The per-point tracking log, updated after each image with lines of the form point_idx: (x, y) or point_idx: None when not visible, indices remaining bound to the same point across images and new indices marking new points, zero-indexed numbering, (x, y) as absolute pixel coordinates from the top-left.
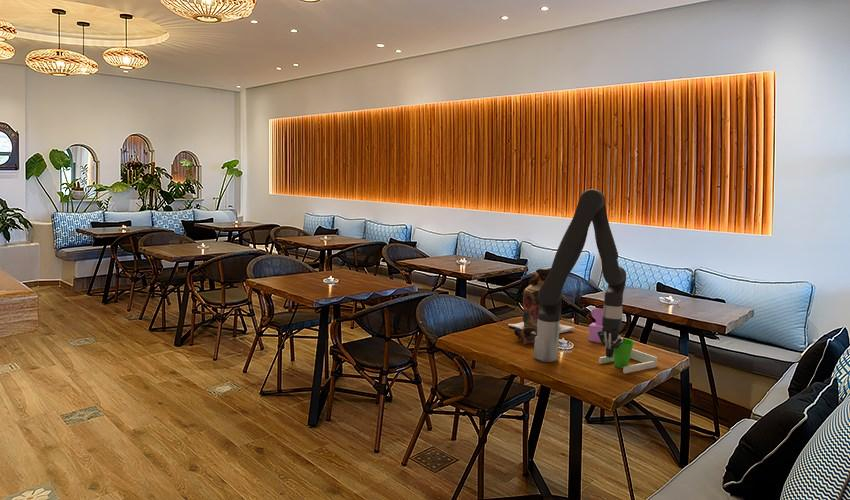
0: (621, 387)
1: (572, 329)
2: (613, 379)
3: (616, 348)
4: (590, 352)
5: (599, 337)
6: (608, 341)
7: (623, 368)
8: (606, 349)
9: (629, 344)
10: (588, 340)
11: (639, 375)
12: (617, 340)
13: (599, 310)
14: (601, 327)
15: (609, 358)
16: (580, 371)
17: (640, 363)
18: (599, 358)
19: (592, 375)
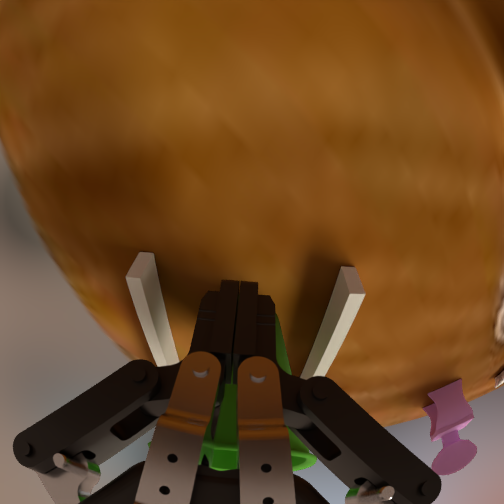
0: (3, 80)
1: (496, 380)
2: (79, 109)
3: (228, 398)
4: (439, 333)
5: (399, 446)
6: (196, 446)
7: (143, 270)
8: (266, 344)
9: (148, 444)
10: (459, 379)
11: (103, 285)
12: (49, 452)
13: (456, 465)
14: (439, 433)
15: (326, 335)
16: (320, 7)
17: (166, 365)
18: (360, 288)
19: (199, 17)
